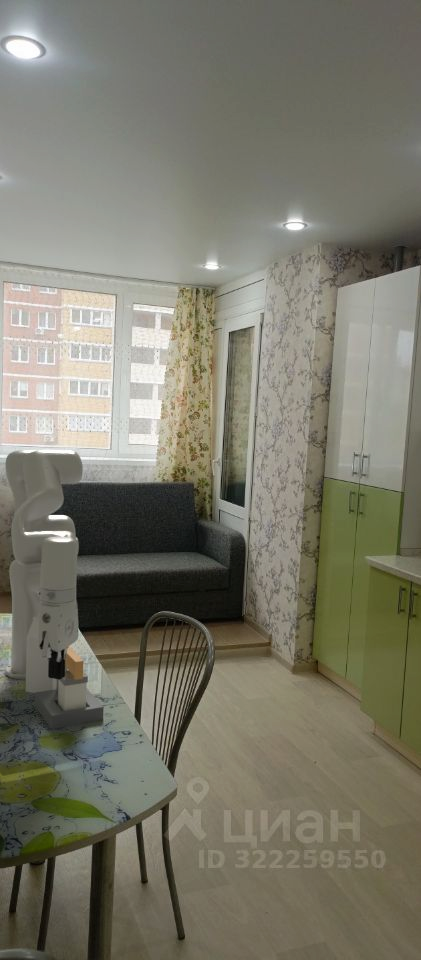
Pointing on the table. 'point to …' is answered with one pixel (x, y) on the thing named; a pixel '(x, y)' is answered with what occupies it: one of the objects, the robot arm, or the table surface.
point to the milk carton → (36, 663)
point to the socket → (57, 718)
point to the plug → (72, 692)
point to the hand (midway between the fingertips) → (56, 677)
